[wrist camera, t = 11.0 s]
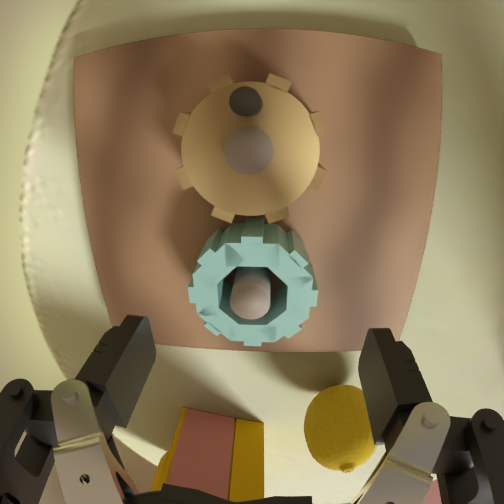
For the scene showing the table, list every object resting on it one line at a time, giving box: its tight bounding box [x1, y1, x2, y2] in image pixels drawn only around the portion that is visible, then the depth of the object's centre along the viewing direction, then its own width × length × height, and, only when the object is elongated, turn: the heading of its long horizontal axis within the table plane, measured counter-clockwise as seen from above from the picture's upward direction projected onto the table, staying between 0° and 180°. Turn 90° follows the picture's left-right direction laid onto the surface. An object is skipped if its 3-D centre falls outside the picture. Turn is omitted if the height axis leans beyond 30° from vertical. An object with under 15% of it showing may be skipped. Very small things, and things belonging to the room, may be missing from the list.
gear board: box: [74, 29, 442, 352], centre depth 14 cm, size 19×18×6 cm
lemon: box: [304, 385, 377, 473], centre depth 19 cm, size 6×6×8 cm
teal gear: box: [188, 218, 318, 346], centre depth 15 cm, size 6×6×2 cm
